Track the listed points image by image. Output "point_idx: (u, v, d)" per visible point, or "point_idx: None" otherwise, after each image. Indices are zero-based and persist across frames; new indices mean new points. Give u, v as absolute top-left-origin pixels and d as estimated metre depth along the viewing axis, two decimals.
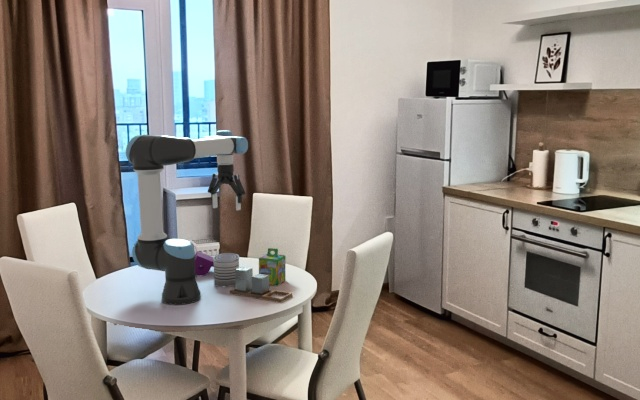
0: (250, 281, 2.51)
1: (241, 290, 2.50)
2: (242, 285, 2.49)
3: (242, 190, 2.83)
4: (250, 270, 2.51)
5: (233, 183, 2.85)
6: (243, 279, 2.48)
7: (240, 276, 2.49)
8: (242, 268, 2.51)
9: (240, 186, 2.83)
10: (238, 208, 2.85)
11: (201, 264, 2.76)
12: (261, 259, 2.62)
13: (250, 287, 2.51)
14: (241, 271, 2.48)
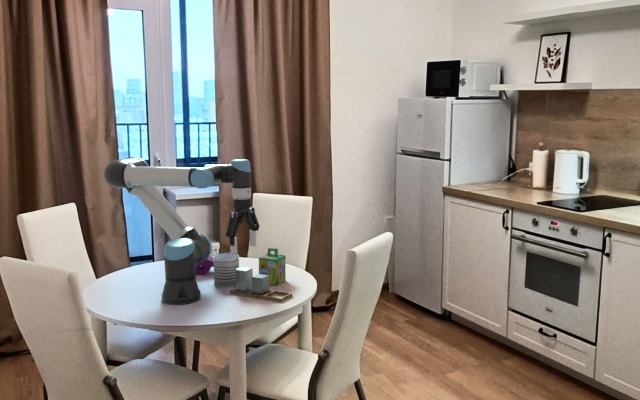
0: (250, 282, 2.51)
1: (241, 290, 2.50)
2: (242, 285, 2.49)
3: (228, 231, 2.40)
4: (250, 270, 2.51)
5: (237, 221, 2.44)
6: (243, 279, 2.48)
7: (240, 276, 2.49)
8: (242, 268, 2.51)
9: (229, 226, 2.40)
10: (232, 251, 2.43)
11: (201, 264, 2.76)
12: (261, 259, 2.62)
13: (250, 287, 2.51)
14: (241, 271, 2.48)
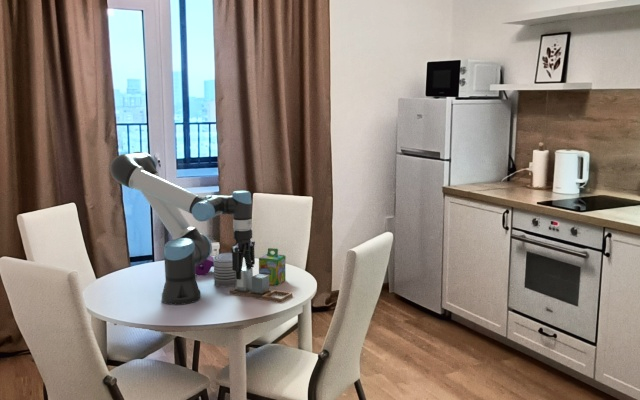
0: (250, 281, 2.51)
1: (241, 290, 2.50)
2: None
3: (234, 266, 2.45)
4: (250, 270, 2.51)
5: (239, 254, 2.47)
6: (243, 279, 2.48)
7: None
8: (242, 268, 2.51)
9: (234, 261, 2.45)
10: (238, 284, 2.49)
11: (201, 264, 2.76)
12: (261, 259, 2.62)
13: (250, 287, 2.51)
14: None
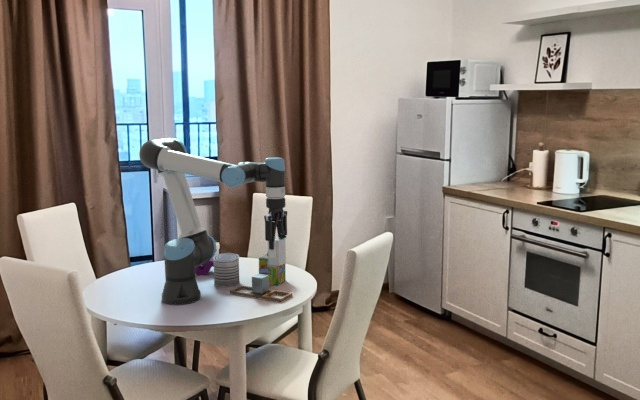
0: (282, 252, 2.41)
1: (274, 261, 2.40)
2: None
3: (267, 235, 2.35)
4: (283, 240, 2.41)
5: (272, 223, 2.38)
6: (276, 249, 2.39)
7: None
8: (275, 238, 2.42)
9: (267, 230, 2.35)
10: (271, 255, 2.39)
11: None
12: (261, 259, 2.62)
13: (283, 258, 2.42)
14: None
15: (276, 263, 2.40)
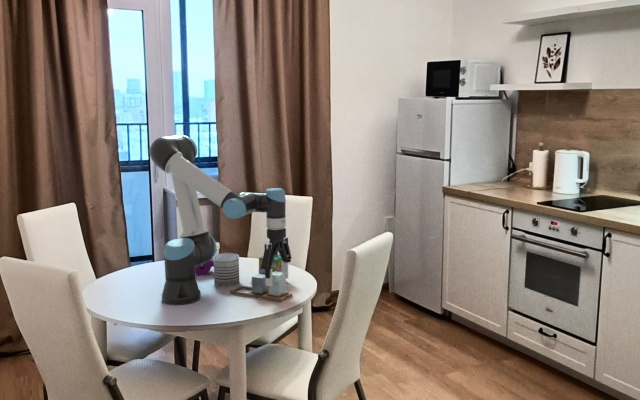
0: (283, 287, 2.43)
1: (274, 295, 2.42)
2: (275, 291, 2.42)
3: (264, 264, 2.35)
4: (283, 275, 2.43)
5: (271, 253, 2.38)
6: (276, 284, 2.41)
7: (274, 281, 2.41)
8: (275, 273, 2.44)
9: (265, 258, 2.35)
10: (267, 283, 2.38)
11: (202, 264, 2.77)
12: (261, 259, 2.62)
13: (283, 292, 2.44)
14: (274, 276, 2.41)
15: None
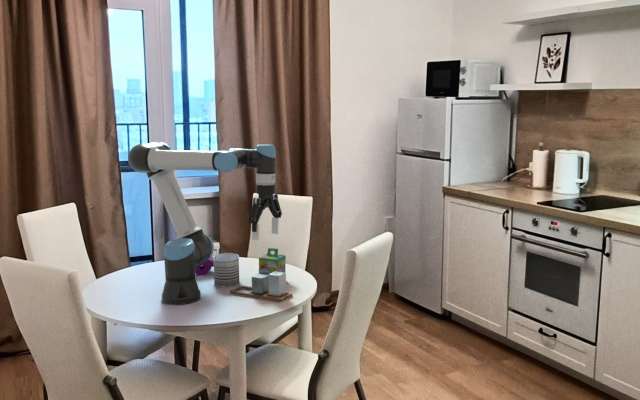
0: (283, 287, 2.43)
1: (274, 295, 2.42)
2: (275, 291, 2.42)
3: (251, 217, 2.35)
4: (283, 275, 2.43)
5: (259, 207, 2.39)
6: (276, 284, 2.41)
7: (274, 281, 2.41)
8: (275, 273, 2.44)
9: (252, 212, 2.36)
10: (254, 237, 2.39)
11: (202, 264, 2.76)
12: (261, 259, 2.62)
13: (283, 292, 2.44)
14: (274, 276, 2.41)
15: None
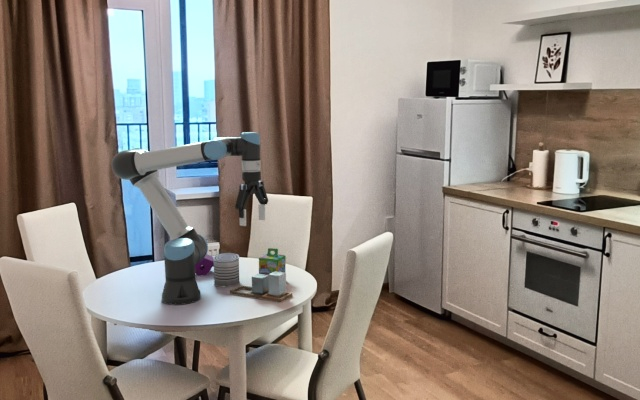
0: (283, 287, 2.43)
1: (274, 295, 2.42)
2: (275, 291, 2.42)
3: (238, 203, 2.40)
4: (283, 275, 2.43)
5: (246, 194, 2.44)
6: (277, 284, 2.41)
7: (274, 281, 2.41)
8: (275, 273, 2.44)
9: (239, 198, 2.41)
10: (241, 223, 2.43)
11: (202, 264, 2.76)
12: (261, 259, 2.62)
13: (283, 292, 2.44)
14: (274, 276, 2.41)
15: None
